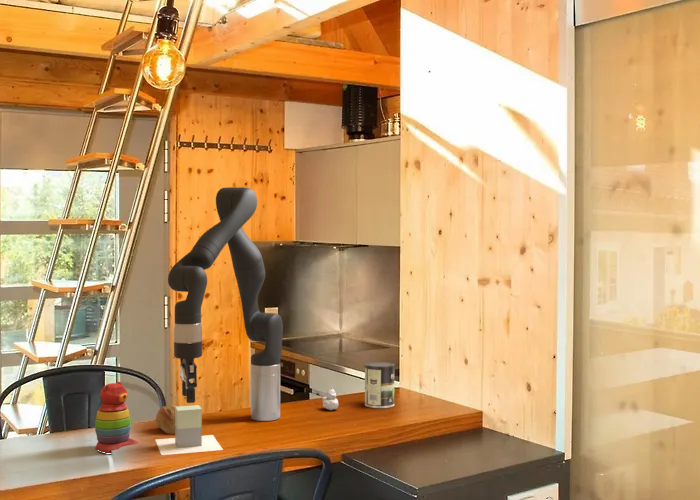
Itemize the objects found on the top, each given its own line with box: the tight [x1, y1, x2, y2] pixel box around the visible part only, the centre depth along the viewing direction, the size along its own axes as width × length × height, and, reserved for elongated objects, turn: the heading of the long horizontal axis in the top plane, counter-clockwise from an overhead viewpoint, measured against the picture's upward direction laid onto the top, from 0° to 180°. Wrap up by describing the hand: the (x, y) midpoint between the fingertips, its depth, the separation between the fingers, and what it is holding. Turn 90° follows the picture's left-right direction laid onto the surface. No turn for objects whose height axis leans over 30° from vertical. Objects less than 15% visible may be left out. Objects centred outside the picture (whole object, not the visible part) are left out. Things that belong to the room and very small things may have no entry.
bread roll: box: [155, 404, 180, 435], centre depth 234 cm, size 10×15×8 cm, turn 27°
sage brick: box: [175, 404, 203, 429], centre depth 217 cm, size 6×5×5 cm
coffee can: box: [364, 361, 396, 409], centre depth 271 cm, size 10×10×14 cm
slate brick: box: [174, 425, 203, 448], centre depth 217 cm, size 6×5×5 cm
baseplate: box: [154, 434, 224, 456], centre depth 217 cm, size 16×16×1 cm
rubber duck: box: [322, 386, 339, 411], centre depth 265 cm, size 5×7×8 cm
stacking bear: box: [94, 381, 139, 454], centre depth 217 cm, size 11×10×18 cm
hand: (188, 399), depth 216 cm, fingers open, 8 cm apart
